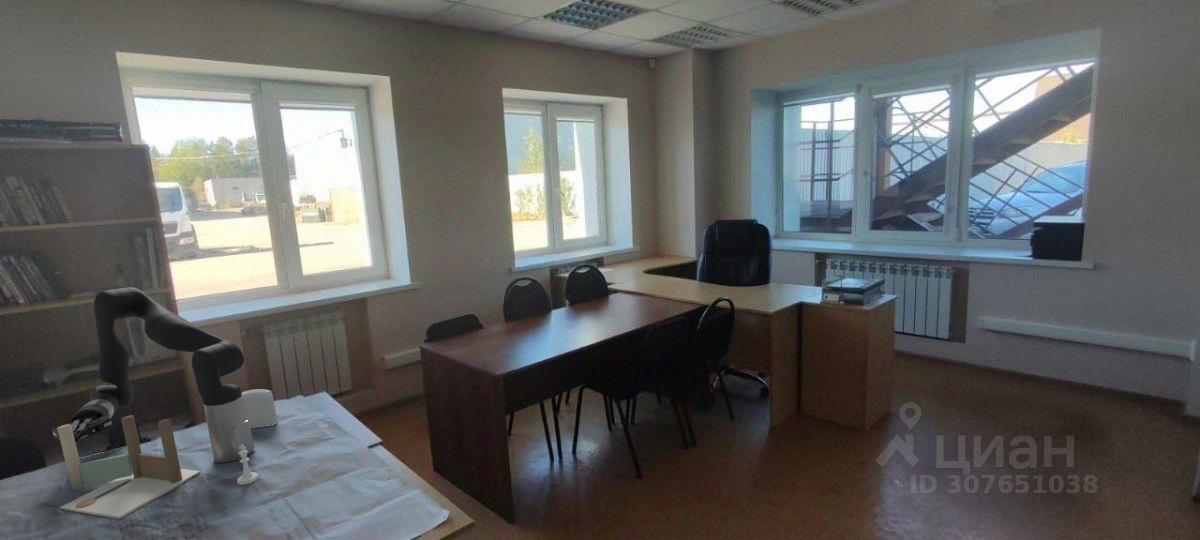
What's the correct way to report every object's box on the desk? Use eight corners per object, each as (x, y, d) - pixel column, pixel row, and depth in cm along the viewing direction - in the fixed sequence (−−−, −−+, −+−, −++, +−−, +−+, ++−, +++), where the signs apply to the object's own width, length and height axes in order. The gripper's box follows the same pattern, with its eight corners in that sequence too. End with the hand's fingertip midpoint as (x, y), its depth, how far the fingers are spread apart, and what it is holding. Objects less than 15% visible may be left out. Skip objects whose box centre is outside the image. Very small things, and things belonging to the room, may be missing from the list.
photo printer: (239, 431, 178) (233, 394, 176) (245, 425, 182) (239, 389, 180) (274, 427, 180) (268, 390, 177) (279, 421, 184) (273, 385, 181)
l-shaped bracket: (134, 472, 153) (121, 414, 150) (130, 477, 150) (117, 418, 147) (74, 485, 148) (60, 425, 145) (70, 490, 145) (55, 429, 142)
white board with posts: (200, 473, 153) (188, 413, 150) (119, 518, 134) (104, 451, 130) (145, 466, 158) (133, 408, 155) (60, 509, 139) (44, 444, 136)
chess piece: (248, 485, 146) (242, 450, 144) (232, 484, 147) (226, 449, 145) (263, 475, 150) (257, 440, 149) (247, 474, 151) (241, 439, 150)
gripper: (60, 409, 158) (33, 434, 142) (119, 398, 163) (99, 421, 148) (66, 434, 159) (40, 461, 144) (125, 422, 165) (105, 447, 150)
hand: (70, 441), depth 146 cm, fingers closed
